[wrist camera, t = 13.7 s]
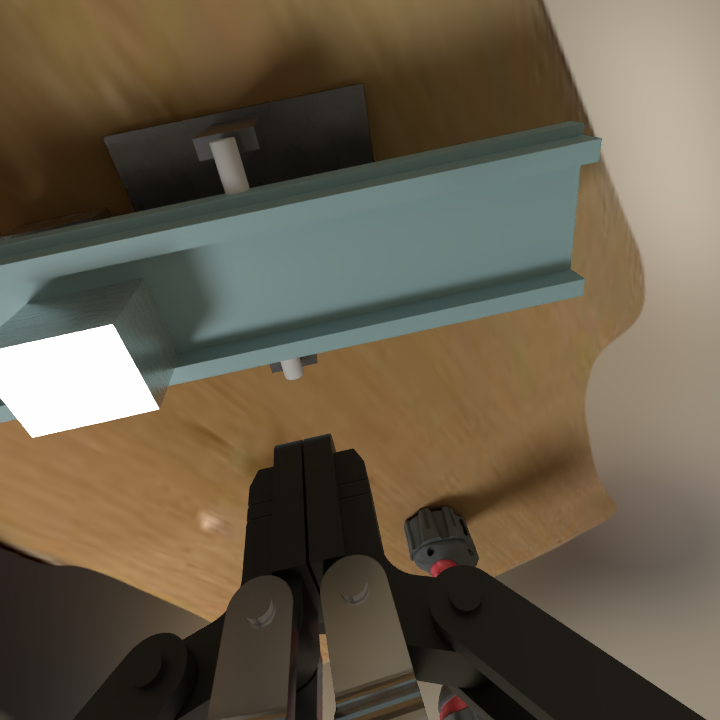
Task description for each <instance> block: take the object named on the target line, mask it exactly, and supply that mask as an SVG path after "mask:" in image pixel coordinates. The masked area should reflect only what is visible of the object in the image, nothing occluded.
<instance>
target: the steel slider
mask: <svg viewBox="0 0 720 720" xmlns="http://www.w3.org/2000/svg"><path fill="white" fill-rule="evenodd" d="M179 356H180V351H179V349H178V347H177V344H176V342H175V340H174V338H173V336H172V334H171V332H170V330H169V328H168V326H167V323H166V321H165V319H164V317H163V315H162V313H161V311H160V309H159V307H158V304H157V302H156V300H155V298H154V296H153V294H152V292H151V290H150V288H149V286H148V283H147V281H146V279H145V278H141V279H136V280H132V281H127V282H123V283H118V284H113V285H109V286H104V287H99V288H95V289H90V290H86V291H81V292H76V293H72V294H67V295H63V296H58V297H53V298H49V299H44V300H39V301H35V302H30V303H26V304H25V305H24V306H23V307H22V308H21V309H20V310H19V311H18V312H16V313H15V314H14V315H13V316H12V317H11V318H10V319H9V320H7V321H6V322H5V323H4V324H3V325H2V326H1V327H0V397H1V399H2V400H3V401H4V402H5V404H6V405H7V406H8V407H9V409H10V410H11V411H12V412H13V414H14V415H15V416H16V417H17V419H18V420H19V421H20V422H21V424H22V425H23V426H24V427H25V429H26V430H27V431H28V432H29V434H30V435H31V436H32V437H36V436H41V435H45V434H50V433H54V432H59V431H63V430H68V429H72V428H77V427H81V426H86V425H90V424H95V423H99V422H104V421H108V420H113V419H117V418H122V417H126V416H131V415H135V414H140V413H144V412H149V411H153V410H158V409H160V406H161V404H162V401H163V398H164V396H165V393H166V390H167V388H168V385H169V382H170V380H171V377H172V374H173V372H174V369H175V366H176V364H177V361H178V358H179Z"/></svg>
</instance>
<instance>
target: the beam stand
mask: <svg viewBox="0 0 720 720" xmlns="http://www.w3.org/2000/svg"><path fill="white" fill-rule="evenodd" d="M229 137H235V140H236V144H237V147H238V150H239V154H240V157H241V161H242V164H243V167H244V171H245V174H246V178H247V181H248V184H249V188H254V187H258V186H263V185H268V184H273V183H277V182H282V181H287V180H292V179H296V178H301V177H306V176H311V175H316V174H320V173H325V172H330V171H335V170H339V169H344V168H349V167H354V166H358V165H363V164H368V163H373V162H374V158H373V151H372V144H371V137H370V130H369V123H368V116H367V109H366V102H365V95H364V87H363V84H362V83H359V84H354V85H350V86H345V87H340V88H335V89H330V90H325V91H320V92H316V93H311V94H306V95H301V96H296V97H291V98H287V99H282V100H277V101H272V102H267V103H262V104H257V105H253V106H248V107H243V108H238V109H233V110H228V111H224V112H219V113H214V114H209V115H204V116H199V117H195V118H190V119H185V120H180V121H175V122H170V123H165V124H161V125H156V126H151V127H146V128H141V129H136V130H132V131H127V132H122V133H117V134H112V135H108V136H105V137H103V140H104V142H105V144H106V146H107V149H108V151H109V153H110V155H111V158H112V160H113V162H114V164H115V167H116V169H117V171H118V173H119V176H120V178H121V180H122V182H123V185H124V187H125V189H126V191H127V194H128V196H129V198H130V200H131V203H132V205H133V207H134V209H135V212H139V211H144V210H149V209H154V208H158V207H163V206H168V205H173V204H178V203H182V202H187V201H192V200H197V199H201V198H206V197H211V196H216V195H220V194H225V190H224V187H223V184H222V181H221V178H220V175H219V172H218V169H217V166H216V163H215V160H214V157H213V154H212V151H211V148H210V144H209V142H212V141H215V140H219V139H223V138H229ZM106 218H111V214H110V212H109V210H108V208H107V207H105V208H100V209H96V210H91V211H86V212H81V213H76V214H72V215H67V216H62V217H57V218H53V219H48V220H43V221H38V222H34V223H29V224H24V225H19V226H16V227H15V228H13V229H11V230H10V231H8V232H6V233H4V234H3V235H1V236H0V241H1V240H6V239H11V238H16V237H20V236H25V235H30V234H35V233H39V232H44V231H49V230H54V229H59V228H63V227H68V226H73V225H78V224H82V223H87V222H92V221H97V220H101V219H106ZM300 360H301V364H302V366H306V365H310V364H315V363H317V354H312V355H308V356H303V357H300ZM270 367H271V370H272V373H274V372H279V371H283V368H282V365H281V362H276V363H271V364H270Z"/></svg>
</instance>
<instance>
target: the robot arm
mask: <svg viewBox="0 0 720 720" xmlns="http://www.w3.org/2000/svg"><path fill="white" fill-rule="evenodd" d="M248 506H249V509H248V513H247V525H246V537H245V549H244V562H243V574H242V582H241V586H240V588H239V590H238V591H237V592H236V593H235V594H234V596H233V597H232V599H231V601H230V602H229V605H228V607H227V611H226V612H225V613H224V614H223V615H222V616H220V617H219V618H218V619H217V620H215V621H214V622H212V623H211V624H209V625H207V626H206V627H204V628H202V629H201V630H199V631H197V632H195V633H194V634H192V635H190V636H188V637H187V638H185V639H183V640H182V639H180V638H179V637H178V636H176V635H175V634H171V633H160V634H156V635H153V636H150V637H149V638H147V639H145V640H143V641H142V642H140V643H139V644H138V645H137V646H136V647H134V648H133V649H132V650H131V651H130V652H129V654H128V655H127V656H126V657H125V658H124V659H123V660H122V662H121V663H120V664H119V665H118V667H117V668H116V669H115V670H114V671H113V672H112V674H111V675H110V676H109V677H108V678H107V680H106V681H105V682H104V683H103V684H102V685H101V687H100V688H99V689H98V690H97V691H96V693H95V694H94V695H93V696H92V698H91V699H90V700H89V701H88V702H87V703H86V705H85V706H84V707H83V708H82V709H81V711H80V712H79V713H78V714H77V715H76V716H75V718H74V719H73V720H322V668H323V663H322V656H321V652H320V641H319V625H318V624H320V623H324V625H325V631H326V638H327V645H328V652H329V659H330V666H331V672H332V679H333V686H334V693H335V701H336V712H335V715H334V720H428V717H427V714H426V710H425V707H424V703H423V700H422V697H421V693H420V690H419V687H418V684H417V681H416V680H418V681H424V682H430V683H436V684H441V685H447V686H448V687H449V688H450V690H451V691H452V692H454V693H455V694H456V695H457V696H458V697H459V698H460V699H461V700H462V701H463V702H465V703H466V704H467V705H468V706H469V707H470V708H471V709H472V710H473V711H474V712H476V713H477V714H478V715H479V716H480V717H481V718H482V719H483V720H706V719H704V718H703V717H701V716H700V715H699V714H697V713H695V712H694V711H693V710H691V709H689V708H688V707H687V706H685V705H684V704H682V703H681V702H679V701H678V700H676V699H675V698H673V697H672V696H670V695H668V694H667V693H666V692H664V691H662V690H661V689H660V688H658V687H657V686H655V685H654V684H652V683H651V682H649V681H647V680H646V679H645V678H643V677H642V676H640V675H638V674H637V673H636V672H634V671H633V670H631V669H630V668H628V667H627V666H625V665H623V664H622V663H621V662H619V661H618V660H616V659H615V658H613V657H612V656H610V655H608V654H607V653H606V652H604V651H602V650H601V649H600V648H598V647H597V646H595V645H593V644H592V643H591V642H589V641H588V640H586V639H585V638H583V637H582V636H580V635H579V634H577V633H576V632H574V631H573V630H571V629H570V628H568V627H567V626H565V625H564V624H562V623H561V622H559V621H557V620H556V619H555V618H553V617H552V616H550V615H549V614H547V613H546V612H544V611H543V610H541V609H540V608H538V607H537V606H535V605H534V604H532V603H531V602H529V601H528V600H526V599H525V598H523V597H522V596H520V595H519V594H517V593H516V592H514V591H513V590H511V589H510V588H508V587H507V586H505V585H504V584H502V583H501V582H499V581H498V580H496V579H495V578H493V577H492V576H490V575H489V574H487V573H486V572H484V571H482V570H481V569H479V568H476V567H473V566H468V565H457V566H453V567H449V568H447V569H445V570H444V571H442V572H441V573H439V575H438V576H437V577H428V576H419V575H412V574H408V573H405V572H403V571H401V570H399V569H397V568H396V567H394V566H393V565H392V564H391V563H390V562H389V561H388V559H387V558H386V557H385V555H384V550H383V546H382V541H381V536H380V531H379V526H378V521H377V517H376V512H375V507H374V502H373V497H372V493H371V489H370V484H369V480H368V476H367V472H366V467H365V463H364V461H363V459H362V458H361V457H360V456H359V455H358V453H357V452H356V451H355V450H354V449H349V450H345V451H340V452H336V450H335V446H334V443H333V439H332V436H331V434H325V435H321V436H317V437H312V438H308V439H304V442H303V440H299V441H295V442H291V443H286V444H282V445H277V446H275V448H274V467H270V468H266V469H261V470H259V471H258V472H257V474H256V476H255V478H254V480H253V482H252V484H251V486H250V489H249V501H248Z"/></svg>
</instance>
